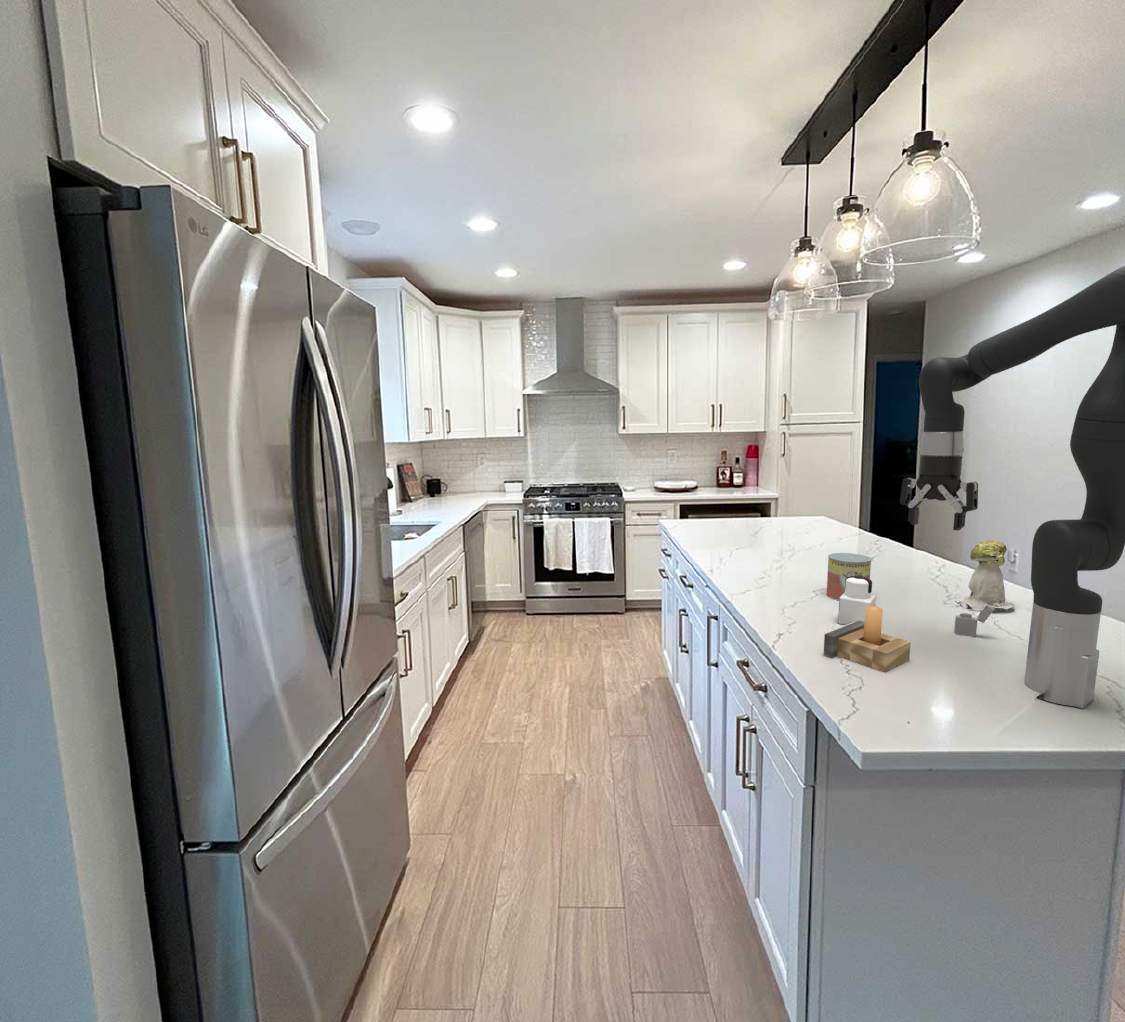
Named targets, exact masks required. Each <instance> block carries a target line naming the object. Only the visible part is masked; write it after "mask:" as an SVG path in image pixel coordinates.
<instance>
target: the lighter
mask: <svg viewBox="0 0 1125 1022" xmlns="http://www.w3.org/2000/svg"><path fill="white" fill-rule="evenodd" d="M994 611H995V608H994V607H992V606H990V605H988V604H987V605H986V607H985V608H984V609H983V610H982V611H980V613H979V614H978V616H977V617H972V616H973V614H972V613H967V612H962V613H960V614H959V615H957V614H956V615H955V618H954V620H955V621H954V628H953V629H954V631H953V633H955V634H956V635H957V636H962V635H964V637H969V636H970V638H977V630H978V622H981V623H982V624H984V623H985V622H986V621H987V620H988V618H989V617H990V616H991V615H992V613H993V612H994ZM955 634H954V635H955Z"/></svg>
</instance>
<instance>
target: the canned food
mask: <svg viewBox="0 0 1125 1022" xmlns="http://www.w3.org/2000/svg"><path fill="white" fill-rule="evenodd" d="M827 557H828V559H827V563H828V564H827V581H826V582H827V583H826V593H825V596H826V597H827V596H828V598H829V597H830V598H829V599H831V600H834V601H838V602H839V598H840V597H841V596H842V595H843V594H844V593H845V579H846V578H847V577H850V576H862V577H866V578H868V579H870V580H871V569H872V568H871V566H872V565H871V564H872V558H871V557H869V556H867V555H865V554H859V553H850V552H835V553H831V554H828V556H827Z"/></svg>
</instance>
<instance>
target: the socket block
mask: <svg viewBox="0 0 1125 1022" xmlns="http://www.w3.org/2000/svg"><path fill="white" fill-rule="evenodd" d="M863 637H864V628H862V629H860V630H858V631H855V632H853V633H850V634H848V635H845V636H843V637H841V638H838V656H837V657H839V658H843V659H846V660H848V661H850V662H854V663H857V664H861V665H863V666H866V667H869V668H871V669H875V670H877V671H879V672H880V671H881V672H882V673H887V672H889V671H890V670H892V669H894V668H896V667H898V666H901V665H902V664H904V663H906V662H908V661H909V660H910V657H911V656H910V655H911V641H909V640H905V639H902V638H898V637H896V636H891V635H888V634H884V633H881V641H880V646H878V645H874V644H871V643H868V642H865V641H863Z"/></svg>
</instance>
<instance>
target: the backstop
mask: <svg viewBox="0 0 1125 1022" xmlns="http://www.w3.org/2000/svg"><path fill="white" fill-rule="evenodd" d="M862 628H864V622H863V621H857V622H853V623H850V624H847V625H844V626H842V627H840V628H837V629H834V630H831V631H830V632H826V633H824V638H823V640H824V641H823V656H824V657H827V658H829V659H830V658H831V659H834V658H836V657H839V656H838V638H841V637H843V636H845V635H848V634H850V633H853V632H855V631H858V630H860V629H862Z"/></svg>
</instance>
